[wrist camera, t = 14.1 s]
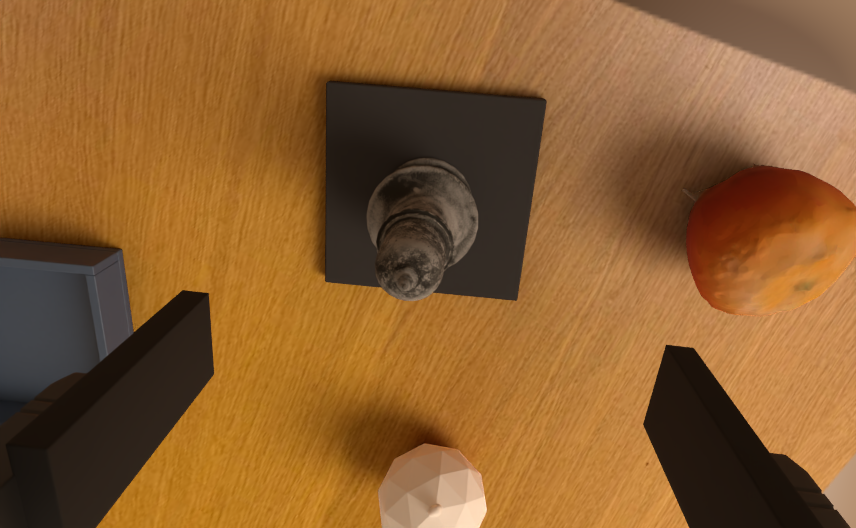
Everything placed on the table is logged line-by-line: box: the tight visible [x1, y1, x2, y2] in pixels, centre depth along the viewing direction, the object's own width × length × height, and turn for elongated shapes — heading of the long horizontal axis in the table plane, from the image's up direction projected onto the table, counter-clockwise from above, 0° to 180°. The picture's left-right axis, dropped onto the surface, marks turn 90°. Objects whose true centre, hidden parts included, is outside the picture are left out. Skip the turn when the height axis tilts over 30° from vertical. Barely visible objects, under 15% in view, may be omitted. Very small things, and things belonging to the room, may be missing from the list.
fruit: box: [682, 164, 856, 316], centre depth 30 cm, size 8×8×8 cm
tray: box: [0, 238, 134, 425], centre depth 37 cm, size 13×13×3 cm
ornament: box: [378, 443, 487, 528], centre depth 37 cm, size 7×7×8 cm
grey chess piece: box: [367, 158, 478, 301], centre depth 27 cm, size 6×6×12 cm
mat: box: [325, 81, 547, 301], centre depth 33 cm, size 12×12×1 cm
